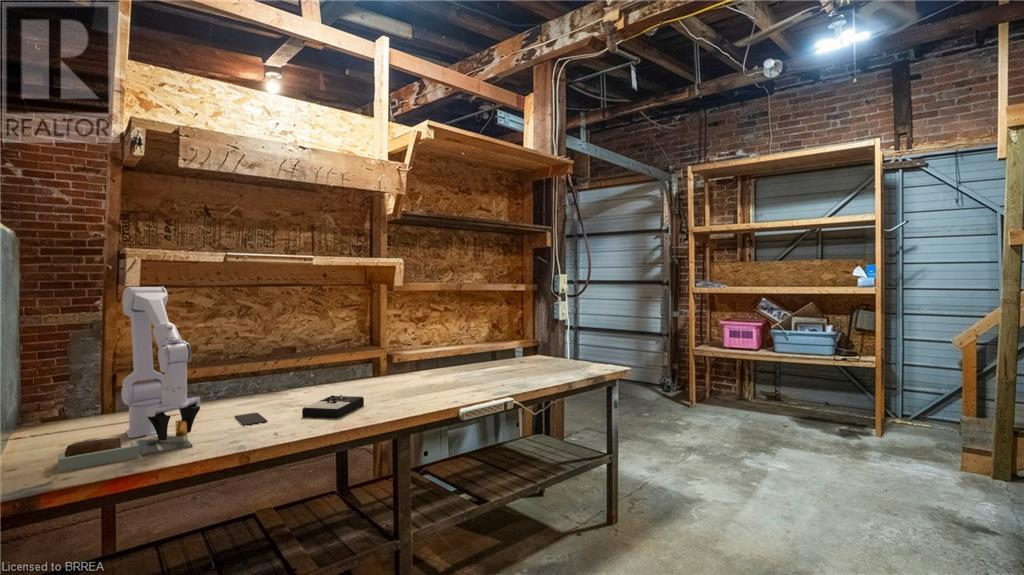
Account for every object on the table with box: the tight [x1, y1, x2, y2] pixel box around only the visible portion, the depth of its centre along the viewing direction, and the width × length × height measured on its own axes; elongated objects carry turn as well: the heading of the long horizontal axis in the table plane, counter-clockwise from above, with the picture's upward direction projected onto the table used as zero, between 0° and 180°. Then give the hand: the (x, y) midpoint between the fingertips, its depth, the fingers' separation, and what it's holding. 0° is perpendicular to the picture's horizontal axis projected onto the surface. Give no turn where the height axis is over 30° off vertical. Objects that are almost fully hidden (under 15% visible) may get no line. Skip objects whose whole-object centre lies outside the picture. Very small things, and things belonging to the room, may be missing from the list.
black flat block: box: [301, 394, 365, 419], centre depth 176 cm, size 13×19×5 cm
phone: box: [234, 412, 268, 427], centre depth 165 cm, size 7×1×15 cm
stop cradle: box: [57, 440, 140, 473], centre depth 126 cm, size 6×16×3 cm, turn 133°
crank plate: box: [136, 438, 193, 457], centre depth 139 cm, size 15×11×1 cm
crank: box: [146, 419, 189, 443], centre depth 140 cm, size 10×4×5 cm, turn 93°
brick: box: [64, 437, 122, 457], centre depth 128 cm, size 11×4×5 cm, turn 111°
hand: (174, 436), depth 138 cm, fingers open, 6 cm apart
